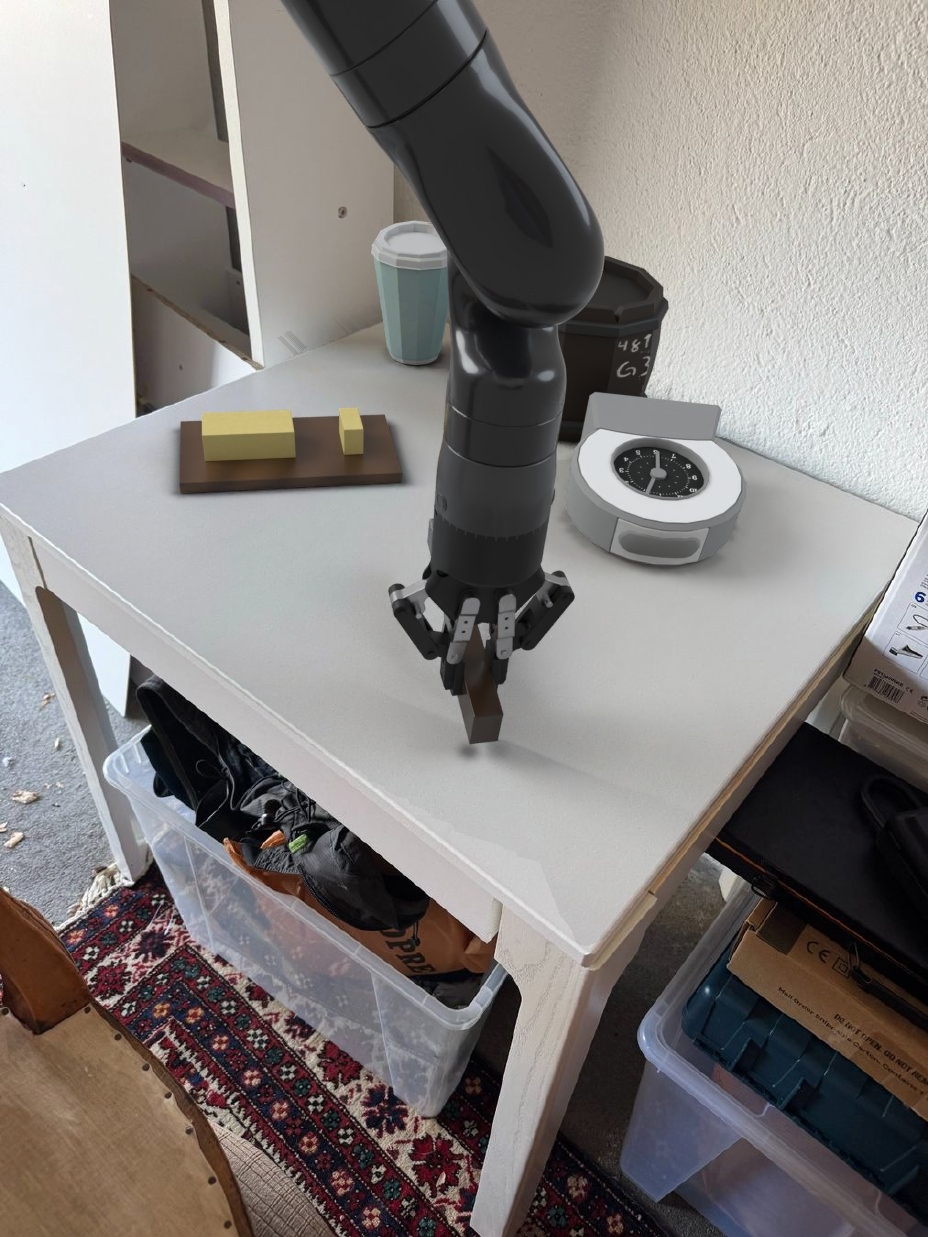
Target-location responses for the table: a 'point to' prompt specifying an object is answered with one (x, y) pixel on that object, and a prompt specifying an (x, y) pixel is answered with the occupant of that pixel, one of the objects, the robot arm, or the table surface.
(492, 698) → the knife
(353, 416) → the butter pat
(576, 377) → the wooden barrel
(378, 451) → the board
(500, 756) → the table surface
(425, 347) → the disposable coffee cup
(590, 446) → the alarm clock
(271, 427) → the butter stick
